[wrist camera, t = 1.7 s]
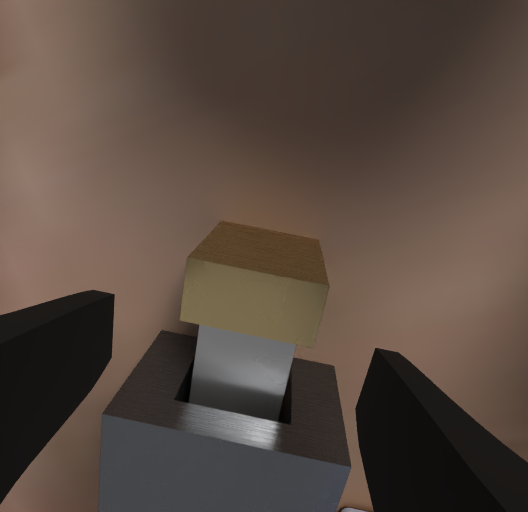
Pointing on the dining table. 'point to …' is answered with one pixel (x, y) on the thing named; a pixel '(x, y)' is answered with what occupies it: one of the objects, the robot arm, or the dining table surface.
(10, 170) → the dining table surface
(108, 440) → the housing
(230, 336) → the lever
